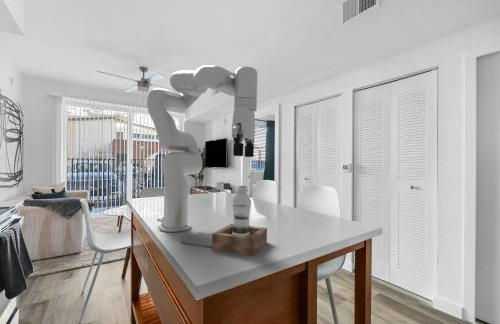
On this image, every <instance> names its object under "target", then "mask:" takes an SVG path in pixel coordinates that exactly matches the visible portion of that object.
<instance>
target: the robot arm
mask: <svg viewBox="0 0 500 324" xmlns="http://www.w3.org/2000/svg"><path fill="white" fill-rule="evenodd" d="M169 85H170V86H171V87H172V89H173V90H175V91H172V90H170V89H165V88H160V87H156V88H153V89H151V90H150V91H149V92H148V95H147V98H146V106H147V107H146V108H147V111H148V113H149V116H150V119H151V120H152V122H153V124H154V125H153V126H154V127H155V128H154V129H155V132H156V135H157V139H158V141H159V145H160V147H161V149H162V150H163V151H165V152H168V153H167V154H165V155H164V156H163V158H162V162H161V165H162V170H163V179H164V180H163V181H164V182H163V183H164V186H163V187H164V188H163V189H164V193H163V195H164V197H163V215H160V216H159V217H158V218H157V219H156V221H157V222H160V223H161V224H160V225H159V227H158V228H159V230H160V231H162V232H168V233H175V232H176V233H177V232H183V231H188V230H190V229H191V228H192V224H191V223H190V222H188V215H189V214H188V213H189V210H188V209H189V207H188V204H189V203H188V202H189V183H188V179H187V178H186V176H187V175H197V174H199V173H200V172H202V169H203V158H202V156H201V152H200V149H199V147H198V144H197V141H196V138H195V136H194V135H193V134H192V133H190V132H188V131H182V130H179V129H178V127H177V125H176V122H175V120H174V118H173V116H172V115H171V114H170V112H175V113H180V114H181V113H184V112H186V111H187V110H189V109H190V107H192V105H193V104H194V103H195V102H196V101H197V100H198V99H199V98H200V97H201V96H202V94H204V93H206V92H207V91H208V89H211V90H215V91H219V92H220V93H223V94H226V95H228V96H230V97H231V96H232V97H234V101H233V102H234V106H233V108H234V109H233V115H232V124H231V137H232V139H233V140H232V143H233V147H232V148H233V150H232V152H233V154H232V155H233V156H234V157H243V156H244V157H246V158H254V155H255V153H254V151H255V136H256V118H255V117H256V115H255V112H257V104H258V103H257V102H258V98H257V97H258V95H257V94H258V71H257V70H256V68H254V67H251V66H241V67H238V68H237V69H236V70H235V73H234V72H232V71H230V70H228V69H226V68H224V67H222V66H219V65H202V66H200V67H198V68H197V69H196V70H179V71H175V72H173V73H172V74H171V75H170V77H169ZM168 111H170V112H168ZM243 142H245V145H244V143H243Z"/></svg>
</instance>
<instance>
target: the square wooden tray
mask: <svg viewBox="0 0 500 324" xmlns="http://www.w3.org/2000/svg"><path fill="white" fill-rule="evenodd" d="M249 230H250V237H247V236H240V235H233V234H232V231H233V223H229V224H228V225H225V226H224V227H222V228H220V229H218V230H216V231H214V232H212V233H211V234H212V247H211V250H212V251H213V250H215V251H220V252H225V253H226V252H227V253H231V254H237V255H243V256H244V255H245V256H248V257H249V256H250V257H254V256H255V255H256V254H257V253H258V252H259V251H260V250H261V249H262V248H263V247H264V246H265V245H266V244H267V243H266V242H268V227H259V226H252V225H249ZM265 243H266V244H265ZM264 244H265V245H264Z"/></svg>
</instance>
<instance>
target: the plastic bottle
mask: <svg viewBox="0 0 500 324" xmlns="http://www.w3.org/2000/svg"><path fill="white" fill-rule="evenodd" d="M248 192H249V191H248V186H247V185H236V194H235V195H234V197H233V199H232V202H231V203H232V213H233V223H232V224H233V231H232V234H233V235H240V236H247V237H250V230H249V226H250V216H251V215H250V212H251V206H252V199H251V198H250V196H249V195H248Z"/></svg>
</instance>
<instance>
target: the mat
mask: <svg viewBox="0 0 500 324" xmlns="http://www.w3.org/2000/svg"><path fill="white" fill-rule="evenodd" d="M212 234H213V233H207V232H203V231H199V232H196V233H195V234H193V235H191V236H189V237H186V238H184V239H181V240H180V243H181V244H187V245H192V246H199V247H203V248H204V247H205V248H210V249H212Z"/></svg>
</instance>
